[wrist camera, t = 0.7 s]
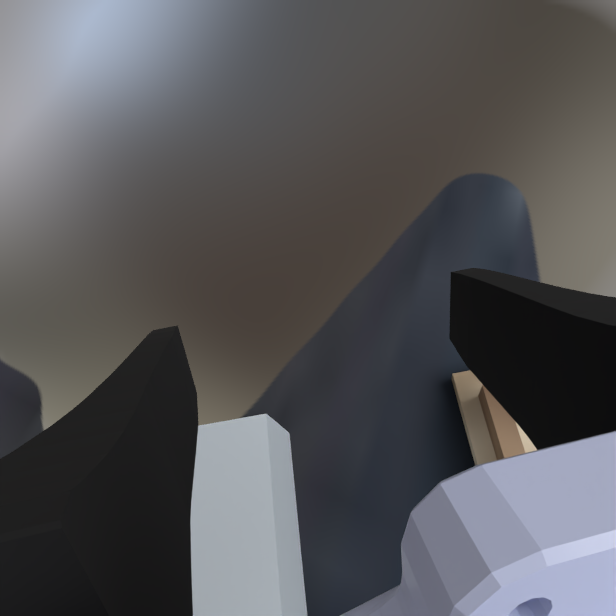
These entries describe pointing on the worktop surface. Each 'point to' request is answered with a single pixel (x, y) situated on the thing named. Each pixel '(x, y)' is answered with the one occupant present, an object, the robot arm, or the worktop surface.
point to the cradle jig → (487, 422)
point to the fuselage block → (245, 522)
